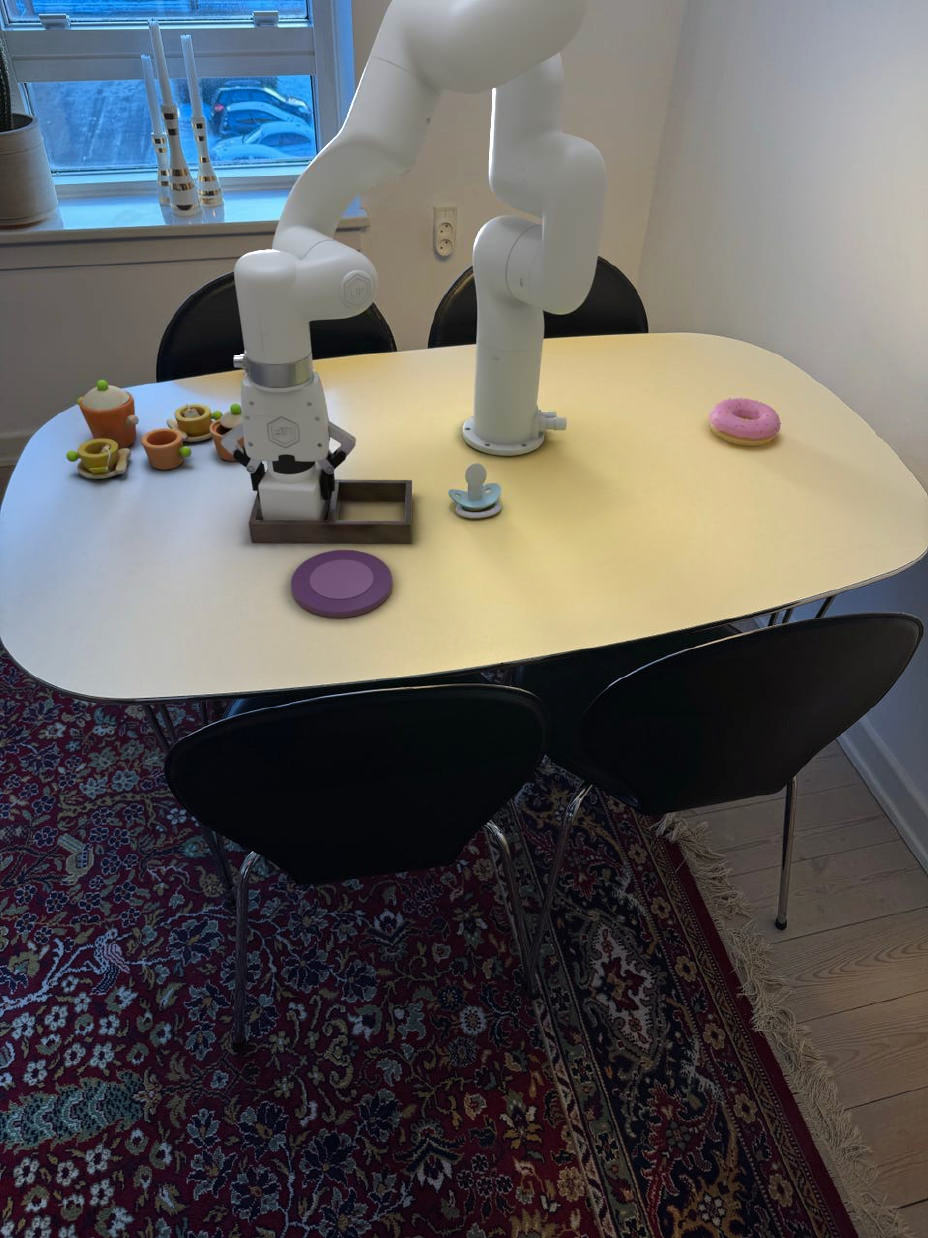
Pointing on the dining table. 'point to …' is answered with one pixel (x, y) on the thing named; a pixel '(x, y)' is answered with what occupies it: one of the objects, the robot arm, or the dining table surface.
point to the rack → (332, 527)
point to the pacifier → (477, 494)
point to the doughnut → (744, 421)
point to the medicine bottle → (292, 490)
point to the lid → (341, 583)
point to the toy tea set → (116, 429)
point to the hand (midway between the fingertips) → (295, 494)
